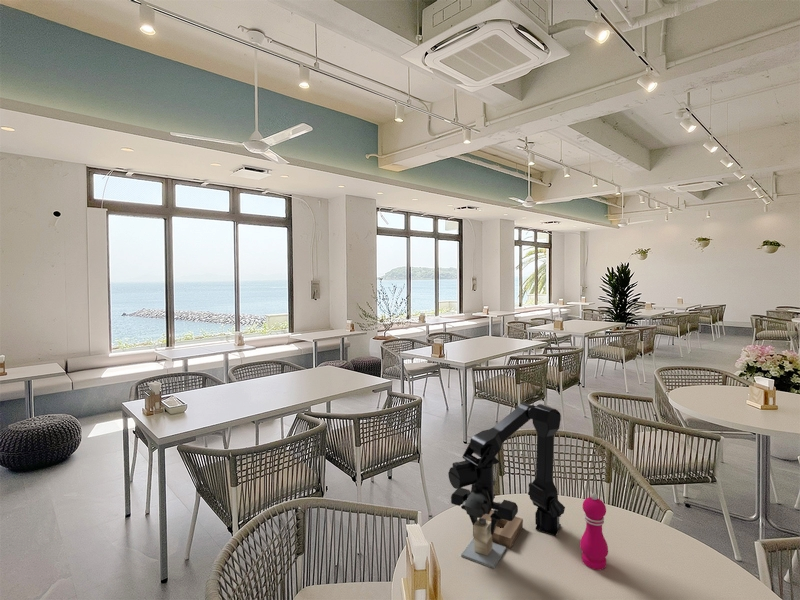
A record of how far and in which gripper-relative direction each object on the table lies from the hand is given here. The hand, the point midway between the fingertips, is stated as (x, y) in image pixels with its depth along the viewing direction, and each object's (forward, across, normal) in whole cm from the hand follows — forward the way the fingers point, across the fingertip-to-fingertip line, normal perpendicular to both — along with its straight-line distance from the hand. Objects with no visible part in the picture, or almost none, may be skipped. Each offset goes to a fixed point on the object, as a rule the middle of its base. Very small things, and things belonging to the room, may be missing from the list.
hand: (483, 531), depth 125 cm
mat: (+6, 0, 0) cm, 6 cm away
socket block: (+6, 0, +12) cm, 14 cm away
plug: (+6, 0, 0) cm, 6 cm away
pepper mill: (+7, +28, +12) cm, 31 cm away
